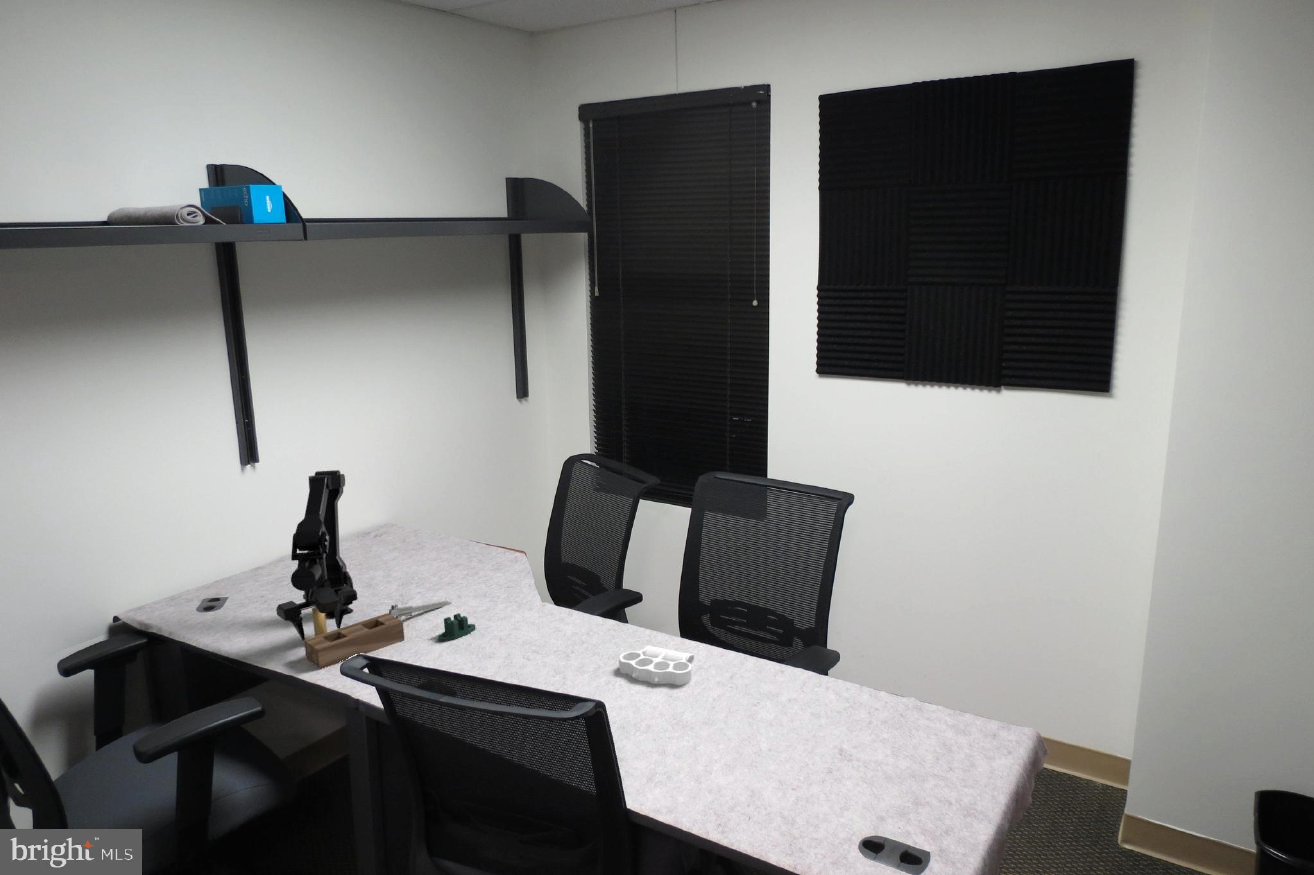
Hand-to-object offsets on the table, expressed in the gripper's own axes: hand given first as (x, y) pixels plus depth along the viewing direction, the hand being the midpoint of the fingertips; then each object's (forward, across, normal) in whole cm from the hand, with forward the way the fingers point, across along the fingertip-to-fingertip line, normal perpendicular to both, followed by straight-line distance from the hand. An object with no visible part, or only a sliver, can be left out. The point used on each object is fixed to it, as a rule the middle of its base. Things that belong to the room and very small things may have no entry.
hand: (321, 634), depth 228 cm
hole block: (+2, +4, -11) cm, 12 cm away
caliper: (+2, +26, -4) cm, 26 cm away
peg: (+2, 0, 0) cm, 2 cm away
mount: (+2, +26, -22) cm, 34 cm away
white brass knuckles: (+3, +48, -74) cm, 88 cm away
